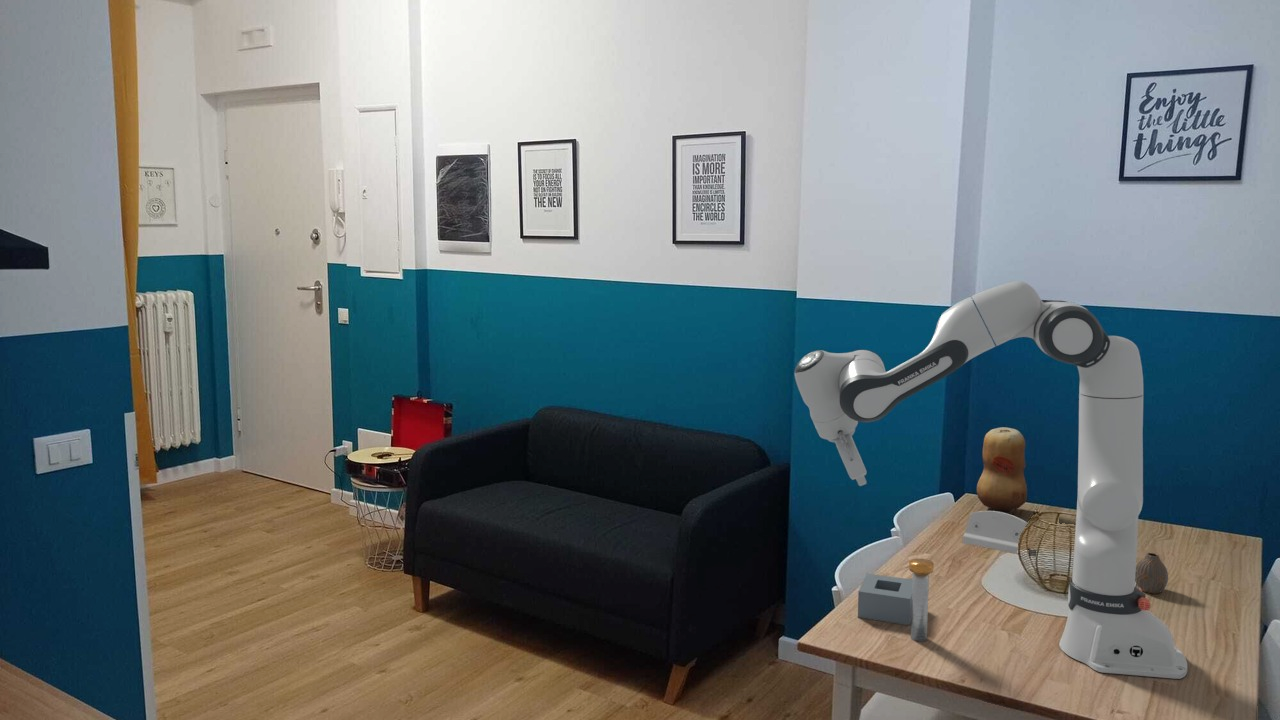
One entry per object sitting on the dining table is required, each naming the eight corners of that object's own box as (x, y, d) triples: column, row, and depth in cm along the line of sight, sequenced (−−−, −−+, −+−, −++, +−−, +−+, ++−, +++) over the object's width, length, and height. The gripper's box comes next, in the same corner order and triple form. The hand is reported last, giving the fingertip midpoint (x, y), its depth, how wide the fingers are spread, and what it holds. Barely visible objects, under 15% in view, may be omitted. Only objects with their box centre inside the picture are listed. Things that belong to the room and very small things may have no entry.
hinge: (960, 542, 246) (966, 505, 247) (965, 543, 249) (971, 507, 250) (1025, 555, 235) (1031, 517, 237) (1030, 556, 239) (1035, 518, 240)
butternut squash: (974, 515, 267) (978, 432, 264) (977, 502, 280) (980, 422, 276) (1025, 520, 262) (1030, 436, 258) (1026, 507, 274) (1030, 425, 270)
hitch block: (915, 605, 206) (916, 580, 205) (909, 625, 196) (910, 598, 196) (866, 597, 211) (866, 573, 210) (857, 617, 201) (858, 591, 200)
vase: (1159, 598, 208) (1162, 562, 207) (1128, 589, 213) (1130, 554, 212) (1171, 590, 213) (1174, 554, 211) (1140, 582, 218) (1143, 547, 216)
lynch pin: (931, 635, 192) (934, 560, 189) (929, 645, 187) (932, 568, 185) (908, 631, 194) (910, 557, 191) (905, 641, 189) (907, 565, 187)
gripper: (859, 438, 185) (882, 492, 190) (840, 395, 203) (861, 444, 208) (830, 450, 186) (854, 503, 191) (814, 406, 205) (835, 455, 209)
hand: (858, 472), depth 200 cm, fingers open, 8 cm apart
